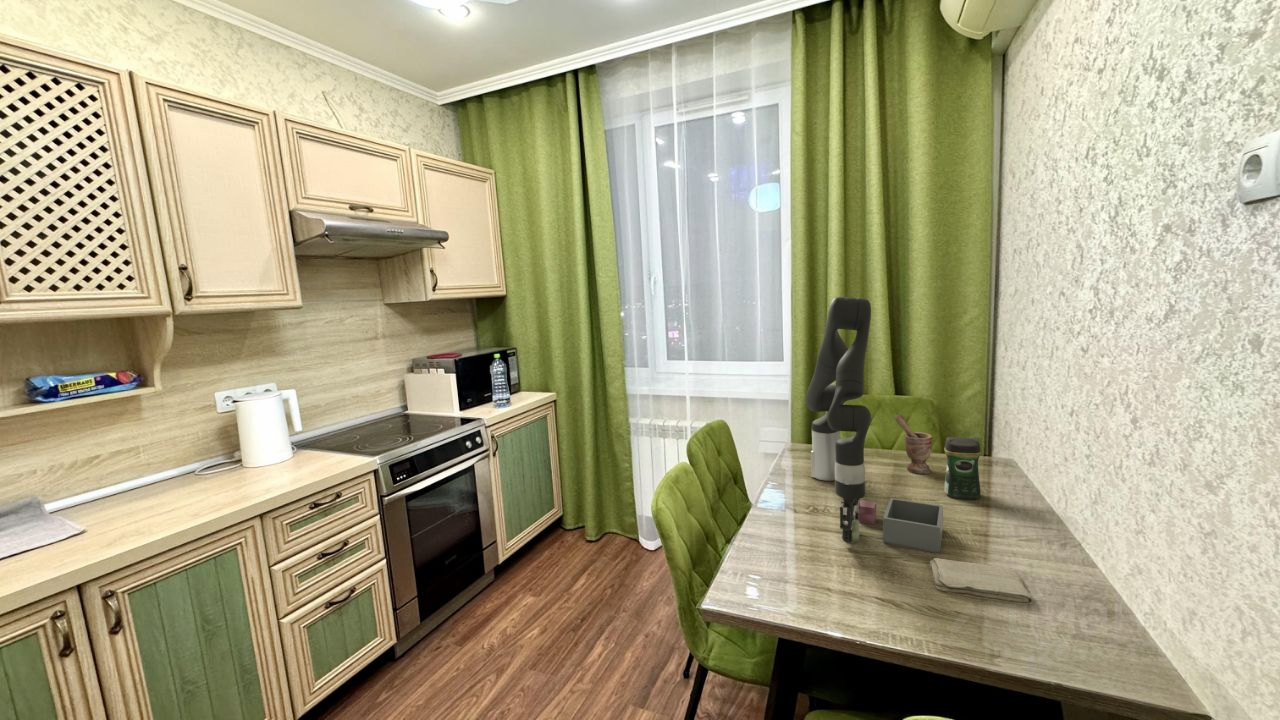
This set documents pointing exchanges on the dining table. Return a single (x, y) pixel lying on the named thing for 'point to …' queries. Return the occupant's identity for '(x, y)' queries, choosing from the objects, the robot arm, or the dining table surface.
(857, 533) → the green cylinder
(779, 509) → the dining table surface
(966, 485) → the coffee jar
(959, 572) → the washcloth
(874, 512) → the pink cube
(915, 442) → the mortar and pestle
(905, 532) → the bin
